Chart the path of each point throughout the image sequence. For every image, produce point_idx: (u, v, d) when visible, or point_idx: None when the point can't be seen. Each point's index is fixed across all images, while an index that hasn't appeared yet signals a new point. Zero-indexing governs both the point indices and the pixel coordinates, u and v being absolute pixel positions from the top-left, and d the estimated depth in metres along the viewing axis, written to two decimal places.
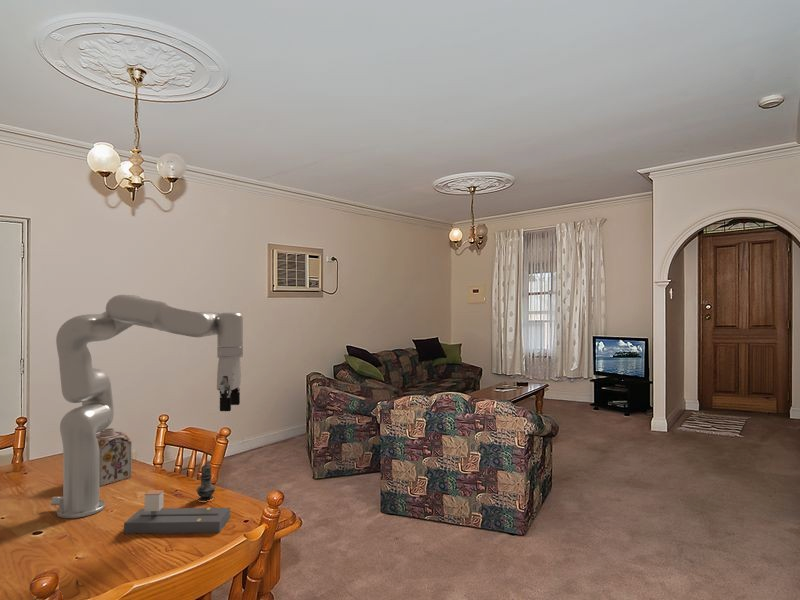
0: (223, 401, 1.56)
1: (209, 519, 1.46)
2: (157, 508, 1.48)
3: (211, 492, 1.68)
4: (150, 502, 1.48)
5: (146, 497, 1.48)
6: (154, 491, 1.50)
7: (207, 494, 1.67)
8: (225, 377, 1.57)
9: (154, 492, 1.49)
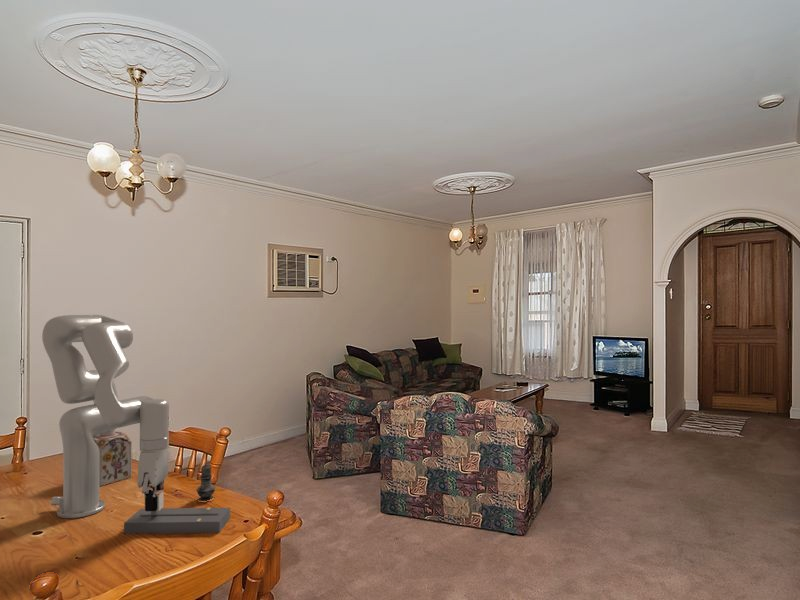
0: (148, 501, 1.47)
1: (209, 519, 1.46)
2: (157, 508, 1.48)
3: (211, 492, 1.68)
4: None
5: None
6: None
7: (207, 494, 1.67)
8: (147, 476, 1.45)
9: None
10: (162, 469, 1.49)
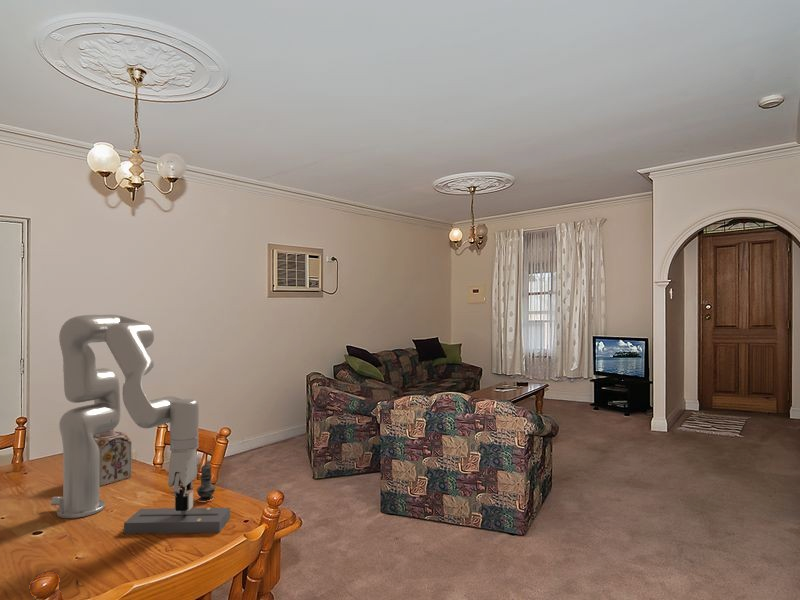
0: (179, 500, 1.47)
1: (209, 519, 1.46)
2: None
3: (211, 492, 1.68)
4: None
5: None
6: None
7: (207, 494, 1.67)
8: (178, 476, 1.45)
9: None
10: (192, 469, 1.50)
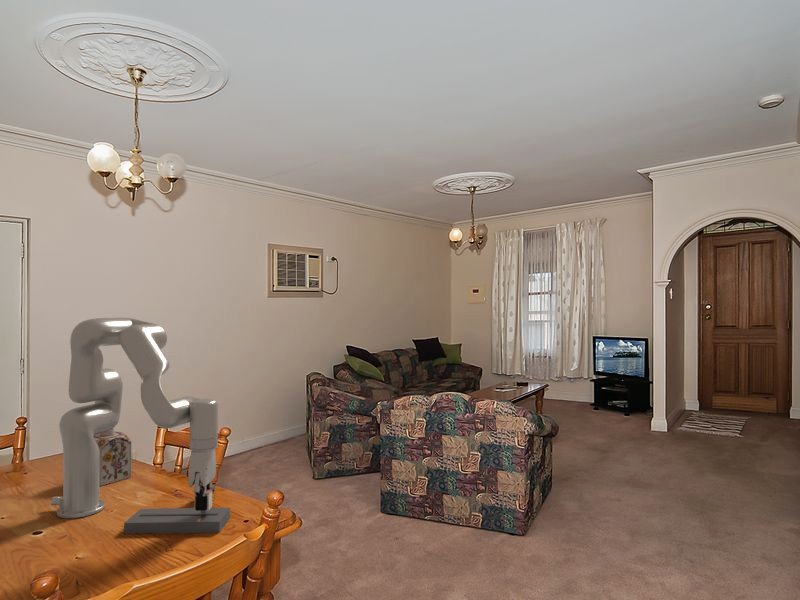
0: (198, 500, 1.47)
1: (209, 519, 1.46)
2: (207, 507, 1.48)
3: None
4: None
5: None
6: None
7: None
8: (198, 476, 1.45)
9: None
10: (211, 469, 1.50)
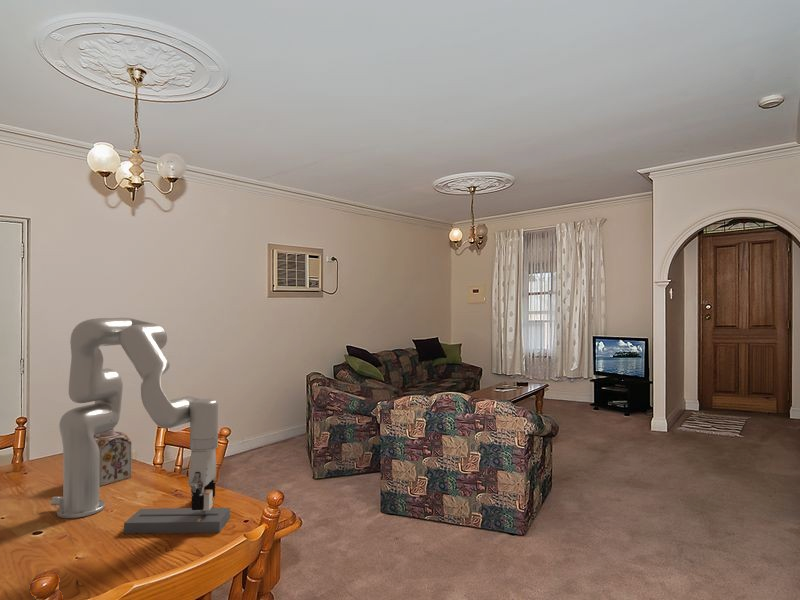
0: (195, 499, 1.44)
1: (209, 519, 1.46)
2: (207, 507, 1.48)
3: None
4: None
5: None
6: (203, 490, 1.50)
7: None
8: (197, 473, 1.45)
9: (204, 491, 1.50)
10: (212, 468, 1.50)
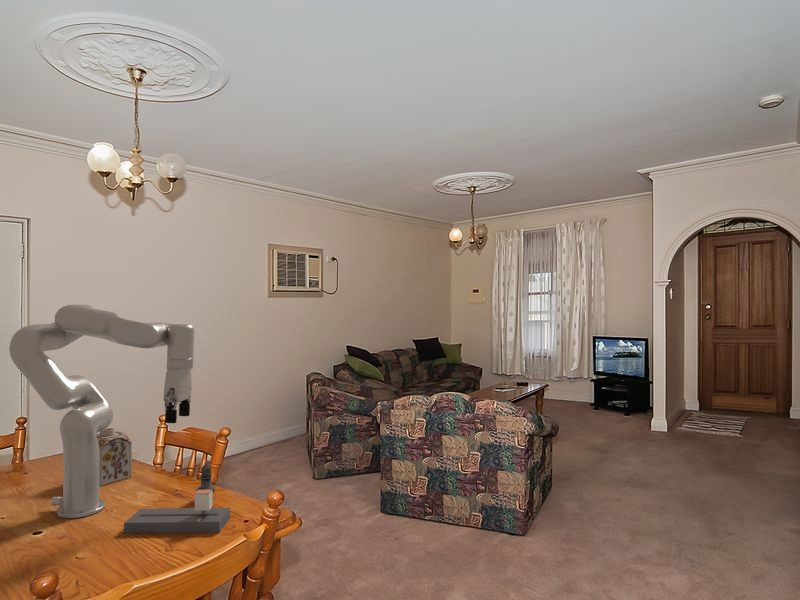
0: (168, 413, 1.56)
1: (209, 519, 1.46)
2: (207, 507, 1.48)
3: None
4: (201, 501, 1.48)
5: (196, 496, 1.48)
6: (203, 490, 1.50)
7: None
8: (172, 389, 1.57)
9: (204, 491, 1.50)
10: (186, 388, 1.62)
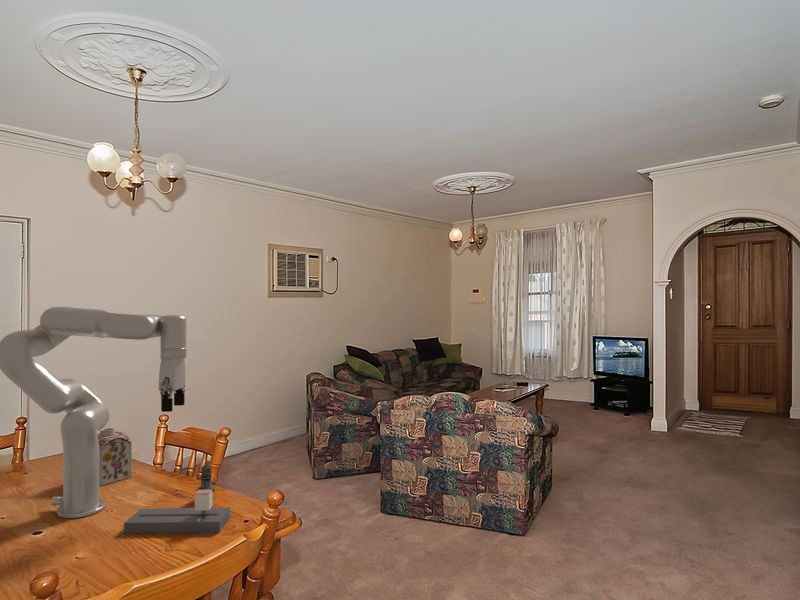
0: (164, 401, 1.60)
1: (209, 519, 1.46)
2: (207, 507, 1.48)
3: None
4: (201, 501, 1.48)
5: (196, 496, 1.48)
6: (203, 490, 1.50)
7: None
8: (167, 378, 1.60)
9: (204, 491, 1.50)
10: (180, 377, 1.65)
